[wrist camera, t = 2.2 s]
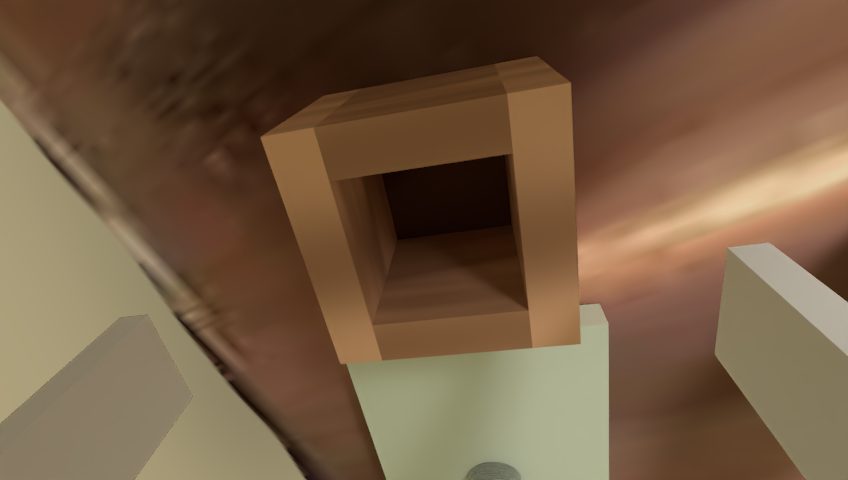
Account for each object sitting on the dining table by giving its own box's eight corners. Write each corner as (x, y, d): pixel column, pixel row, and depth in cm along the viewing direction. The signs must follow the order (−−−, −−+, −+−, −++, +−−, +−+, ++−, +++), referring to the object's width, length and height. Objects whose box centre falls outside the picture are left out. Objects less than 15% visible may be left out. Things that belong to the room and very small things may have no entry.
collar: (323, 95, 17) (260, 136, 12) (536, 56, 16) (570, 82, 11) (372, 272, 21) (340, 364, 16) (550, 251, 20) (580, 343, 14)
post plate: (348, 327, 22) (340, 348, 21) (599, 303, 21) (608, 324, 19) (422, 555, 31) (420, 579, 30) (603, 553, 29) (609, 579, 28)
